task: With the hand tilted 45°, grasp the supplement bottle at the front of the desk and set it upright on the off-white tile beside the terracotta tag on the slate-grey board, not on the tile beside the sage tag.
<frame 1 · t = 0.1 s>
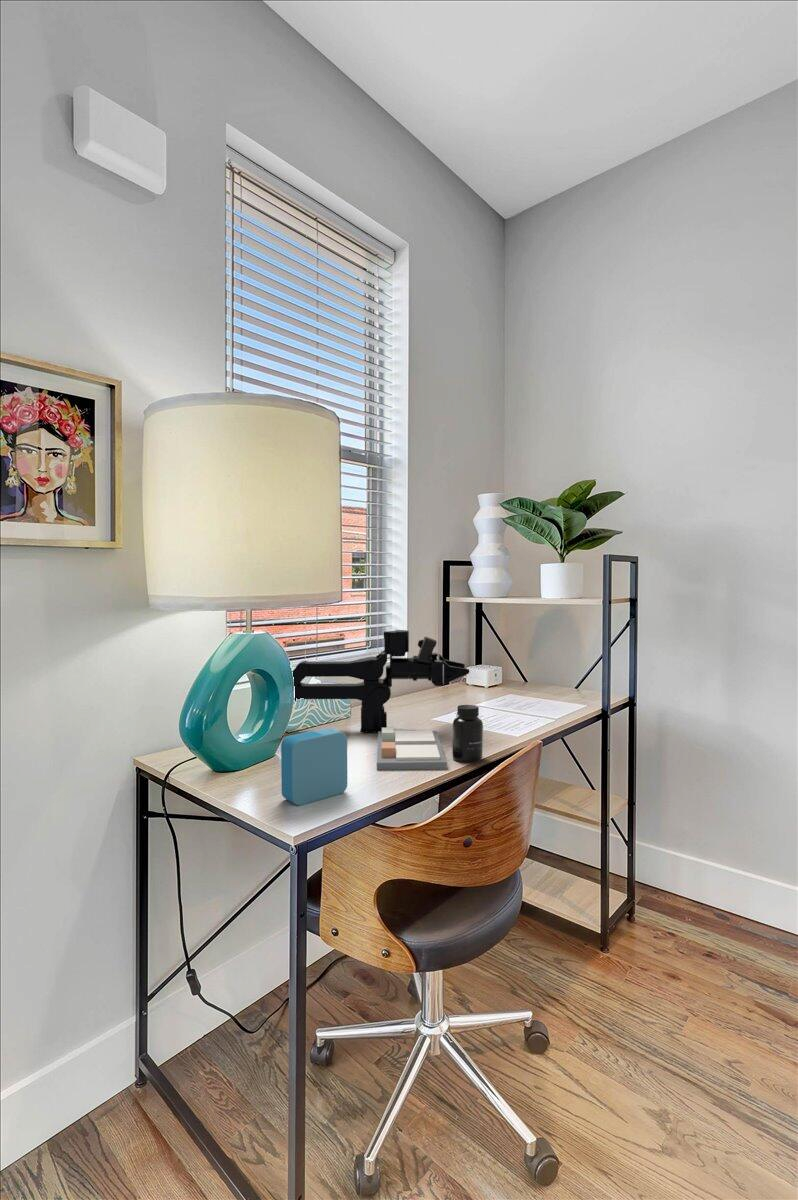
hand: (466, 668, 162), 17 cm above the table, tool horizontal, fingers open, 9 cm apart
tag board: (409, 751, 143), on the table
blue rounded square block: (315, 797, 114), on the table
supplement bottle: (467, 759, 137), on the table
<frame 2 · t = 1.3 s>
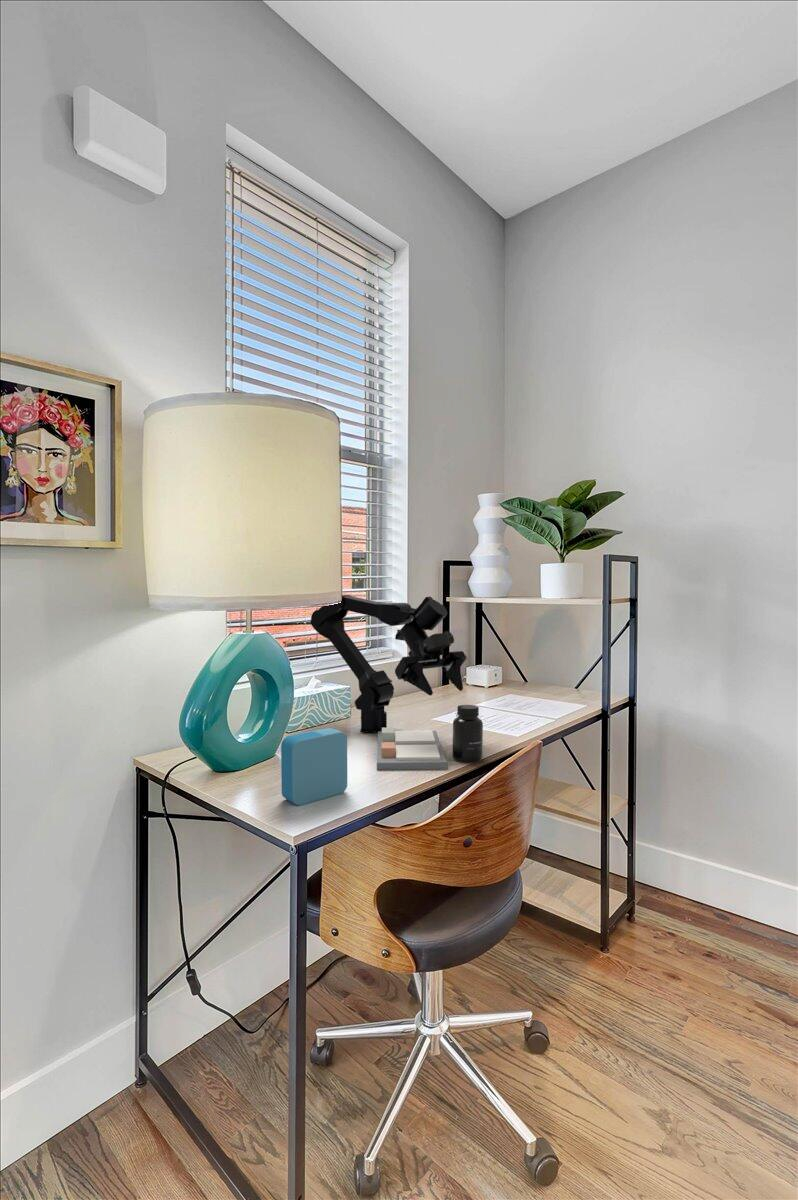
hand: (447, 692, 143), 14 cm above the table, tool tilted 45°, fingers open, 9 cm apart
nothing on the table moved.
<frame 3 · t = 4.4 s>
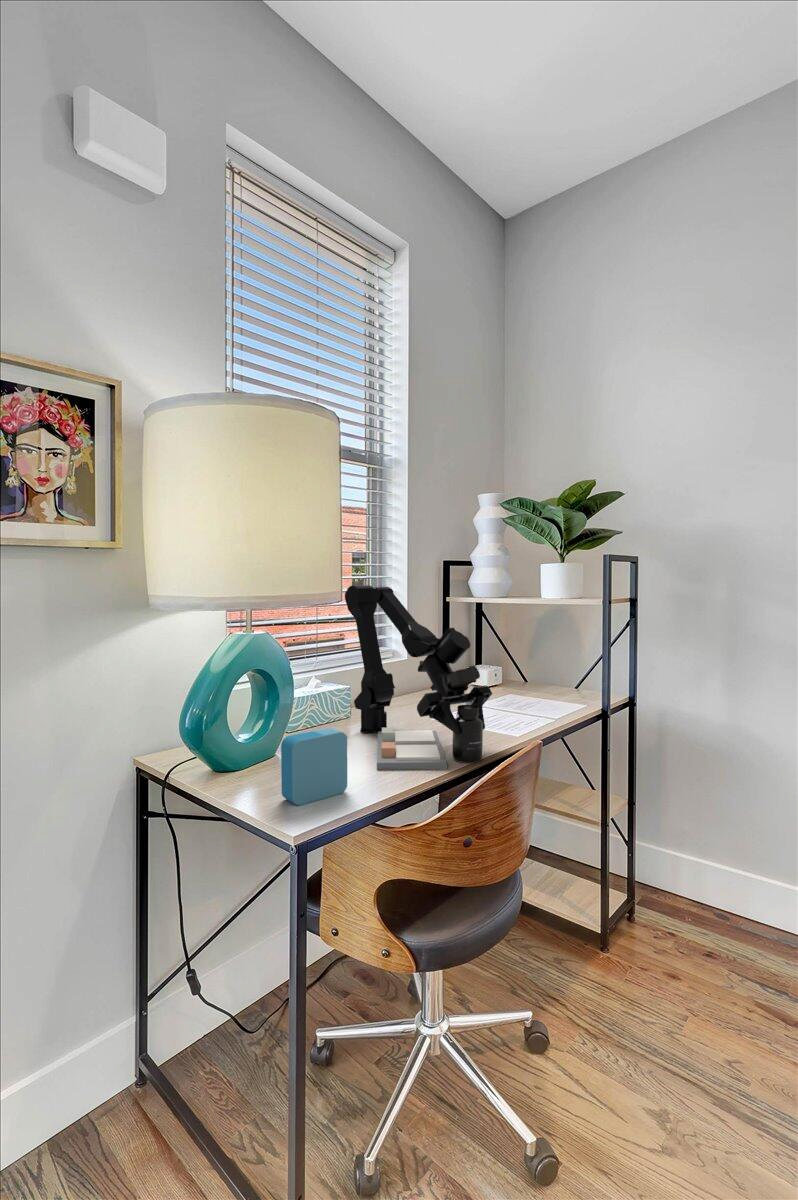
hand: (471, 731, 136), 7 cm above the table, tool tilted 45°, fingers closed on supplement bottle, 7 cm apart
supplement bottle: (467, 759, 137), on the table, touching gripper
everything else where it was.
when the fingers open (10 cm above the table, at t = 8.2 s): supplement bottle drops 1 cm, resting on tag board.
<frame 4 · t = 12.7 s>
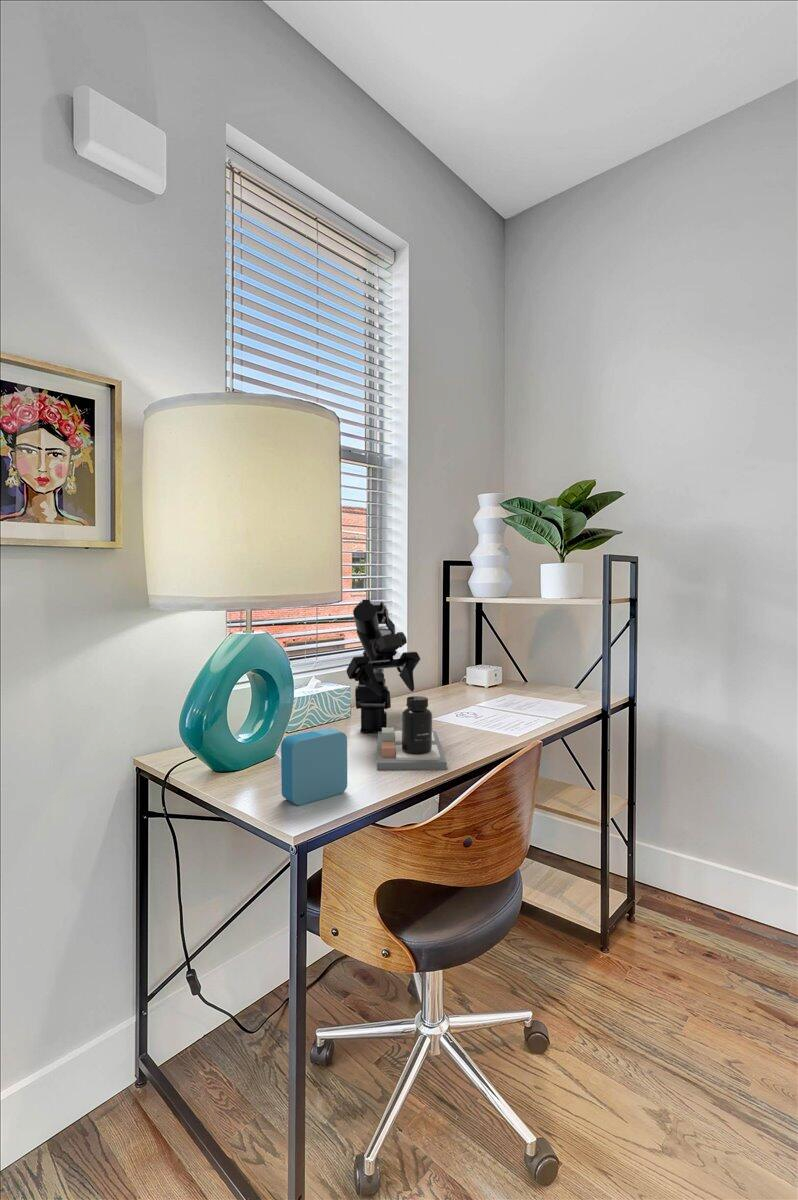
hand: (397, 692, 145), 14 cm above the table, tool tilted 45°, fingers open, 9 cm apart
supplement bottle: (416, 751, 136), point 2 cm above the table, touching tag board
everything else where it was.
at the end: supplement bottle 0.2 cm from the target spot on the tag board, point 1.9 cm above the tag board's base; supplement bottle tilted 0°; the gripper is holding nothing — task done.
